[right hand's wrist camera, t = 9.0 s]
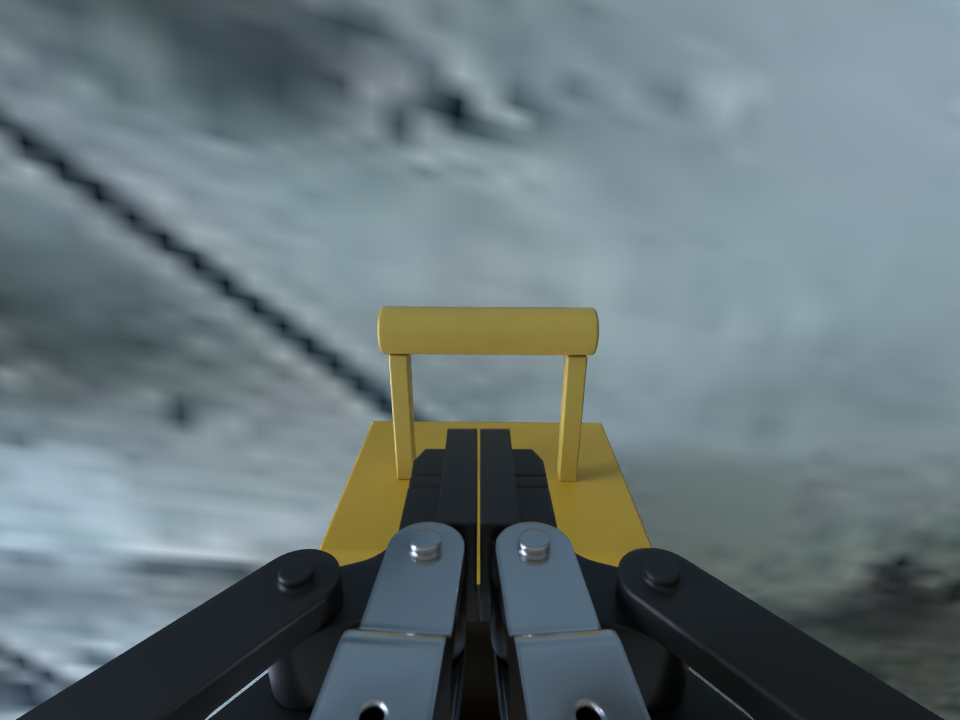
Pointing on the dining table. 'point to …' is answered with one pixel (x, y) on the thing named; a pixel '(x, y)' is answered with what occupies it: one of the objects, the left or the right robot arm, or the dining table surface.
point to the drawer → (562, 446)
